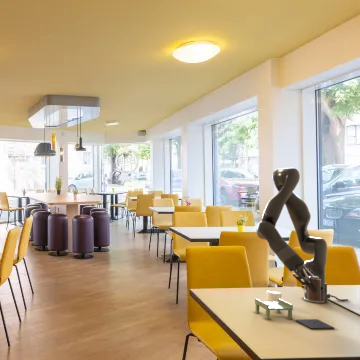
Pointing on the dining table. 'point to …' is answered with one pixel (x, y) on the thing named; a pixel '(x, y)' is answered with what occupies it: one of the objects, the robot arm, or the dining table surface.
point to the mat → (315, 324)
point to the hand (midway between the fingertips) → (318, 290)
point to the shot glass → (273, 296)
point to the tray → (274, 307)
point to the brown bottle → (317, 284)
